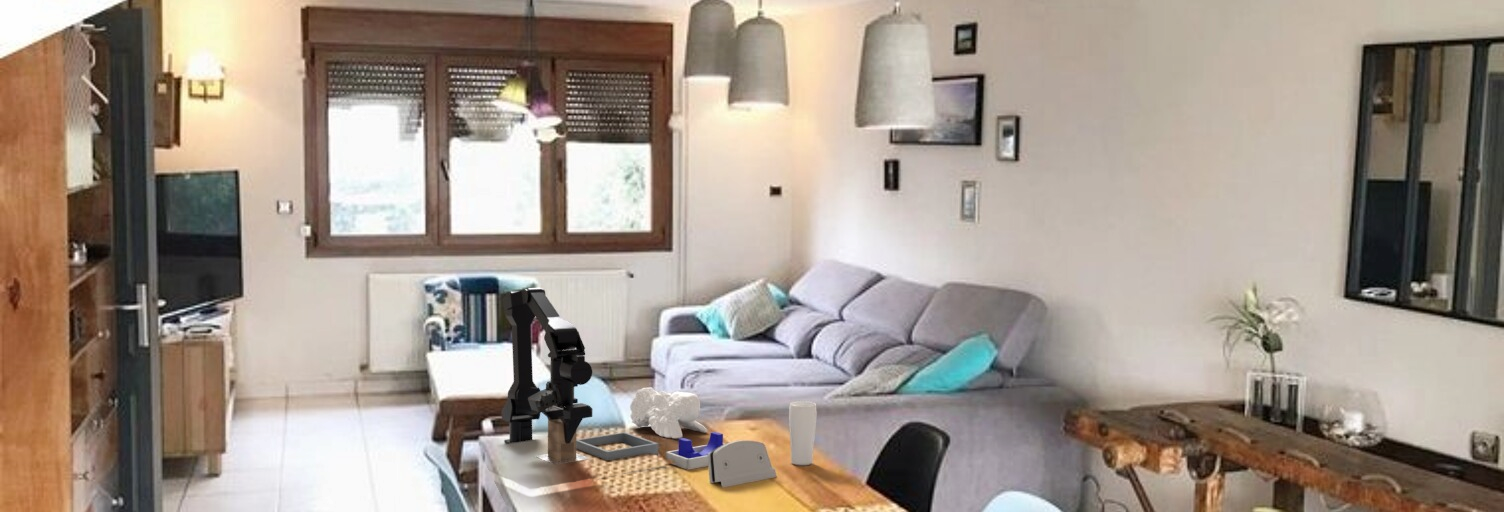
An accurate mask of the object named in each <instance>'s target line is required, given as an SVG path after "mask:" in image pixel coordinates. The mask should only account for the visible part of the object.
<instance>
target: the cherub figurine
mask: <svg viewBox="0 0 1504 512" xmlns="http://www.w3.org/2000/svg"><path fill="white" fill-rule="evenodd" d="M629 408H630V411H631V414H630V419H631V420H632V421H631V423H633V424H634V425H635V427H637V428H639V429H640V428H641V427H649V425H650V428H651V429H652V430H653V431H654V432H655V434H656V435H659V437H664V438H666V439H671V438H672V439H681V438H683V432H682V428H681V427H683V428H684V429H687V430H691V431H693V432H701V433H703V434H706V433H707V432H708V428H706V427H705V426H704V424H701V423H699V422H698V421H696V419H697V418H698V416H699V414H700V412H701V401H700V397H699V396H698V395H697V394H696V393H693V392H688V391H687V392H682V391H674V392H673V393H670V392H667V391H664V390H660V391H657V390H655V389H654V388H653V387H651V386H650V387H642V388H641V389H639V388H638V389H637V391H636V393H635V396H634V397H633V398H632V401H631V403H630V407H629Z"/></svg>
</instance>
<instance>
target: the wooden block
mask: <svg viewBox="0 0 1504 512" xmlns="http://www.w3.org/2000/svg"><path fill="white" fill-rule="evenodd" d="M576 440H577V431H576V432H575V434H574V436H573V438H572V440H571V442H570V443H566V442H565V435H564V424H563V422H562V421H561V420H560V419H554V420H548V419H547V454H548V457H550V458H552V459H555V460H558V461H561V460H567V459H573V458H576V453H577V449H576Z"/></svg>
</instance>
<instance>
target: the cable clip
mask: <svg viewBox="0 0 1504 512" xmlns="http://www.w3.org/2000/svg"><path fill="white" fill-rule="evenodd" d="M708 440H709V441H708V443H706V445H707V446H706V447H705V448H704V449H703V450H702V451H701V452H699V453H698V452H695V451H694V450H693V447H694V446H693V444H692V440H691V439H688V438H684V437H682V438H678V450H679V456H682V457H685V458H688V459H689V458H695V457H701V456H706V455H708V454H709V453H710V452H712V451H713V450H715V449H716V448H718V447H720V446H722V445H723V443H724V433H721V432H717V431H712V432H710V435H709V439H708Z"/></svg>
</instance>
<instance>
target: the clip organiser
mask: <svg viewBox="0 0 1504 512" xmlns="http://www.w3.org/2000/svg"><path fill="white" fill-rule="evenodd" d="M724 444H725V443H724V442H723V445H724ZM706 446H707V444H704V445H699V446H698V445H697V446H692V447H693V450H694V451H695V452H698V453H699V452H701V451H702V450H703V449H704V448H705V447H706ZM665 459H666V460H669V461H672V463H670V464H671V465H672V466H673V465H674V466H676V467H679V468H682V469H684V470H687V471H688V470H689V471H690V470H693V469H700V468H704V467H708V455H706V456H701V457H695V458H689V459H688V458H685V457H682V456H679V449H675V450H669V451H665Z"/></svg>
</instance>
